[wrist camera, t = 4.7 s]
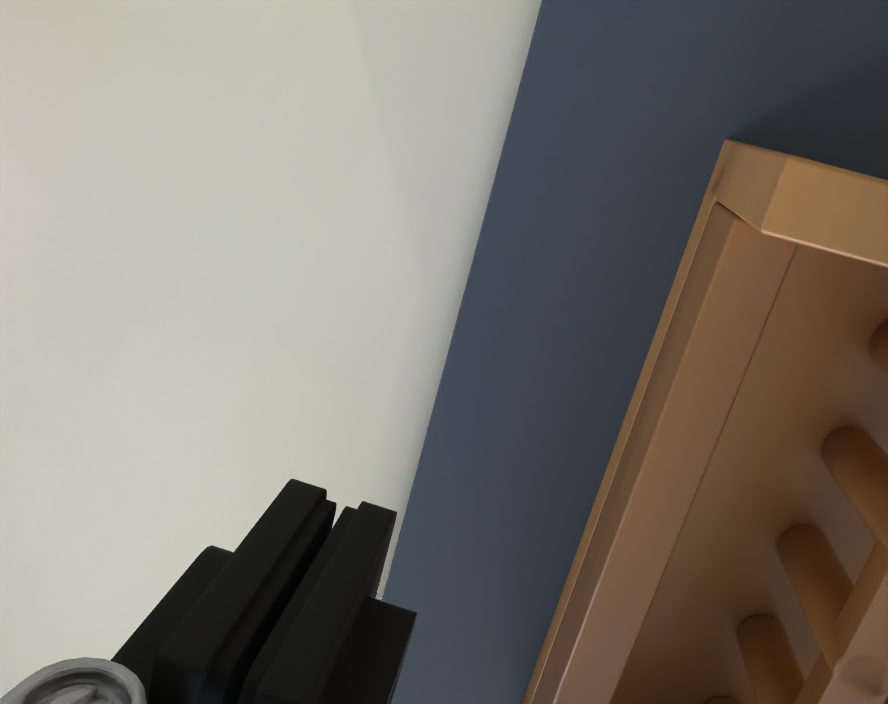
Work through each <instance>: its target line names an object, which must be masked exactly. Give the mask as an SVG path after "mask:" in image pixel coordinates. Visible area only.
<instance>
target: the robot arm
mask: <svg viewBox="0 0 888 704" xmlns="http://www.w3.org/2000/svg"><path fill="white" fill-rule="evenodd" d="M326 496H327V491H326V489H323V488H320V487H317V486H314V485H311V484H307V483H304V482H301V481H298V480H295V479H291V480H290V481H289V482H288V483H287V484H286V485H285V487H284V488H283V489H282V491H281V492H280V493H279V495H278V496H277V497H276V498H275V500H274V501H273V502H272V504H271V505H270V506H269V507H268V509H267V510H266V511H265V513H264V514H263V515H262V517H261V518H260V519H259V520H258V522H257V523H256V524H255V526H254V527H253V528H252V529H251V531H250V532H249V533H248V535H247V536H246V537H245V539H244V540H243V541H242V542H241V544H240V545H239V546H238V548H237V549H236V550H235V551H234V552H231V551H228V550H224V549H221V548H218V547H215V546H209V547H207V548H206V549H205V550H204V551H203V552H201V554H200V555H199V556H198V557H197V558H196V560H195V561H194V562H193V563H192V564H191V565H190V567H189V568H188V569H187V570H186V571H185V573H184V574H183V575H182V576H181V577H180V579H179V580H178V581H177V582H176V583H175V585H174V586H173V587H172V588H171V589H170V590H169V592H168V593H167V594H166V595H165V596H164V598H163V599H162V600H161V601H160V602H159V604H158V605H157V606H156V607H155V608H154V609H153V611H152V612H151V613H150V614H149V615H148V617H147V618H146V619H145V620H144V621H143V623H142V624H141V625H140V626H139V627H138V628H137V630H136V631H135V632H134V633H133V634H132V636H131V637H130V638H129V639H128V640H127V642H126V643H125V644H124V645H123V646H122V647H121V649H120V650H119V651H118V652H117V653H116V655H115V656H114V657H113V658H112V659H111V661H109V660H106V659H98V658H86V657H84V658H77V659H69V660H63V661H60V662H57V663H55V664H52V665H49V666H46V667H43V668H42V669H40V670H39V671H37V672H35V673H34V674H32V675H31V676H29V677H27V678H26V679H24V680H23V681H22V682H21V683H19V684H18V685H17V686H16V687H14V688H13V689H12V690H11V691H10V692H8V693H7V694H6V695H5V696H3V697H2V698H1V699H0V704H391V702H392V699H393V695H394V692H395V689H396V686H397V682H398V679H399V676H400V673H401V669H402V666H403V663H404V659H405V656H406V652H407V649H408V645H409V642H410V638H411V635H412V631H413V628H414V624H415V621H416V617H417V612H413V611H410V610H407V609H404V608H401V607H398V606H395V605H392V604H389V603H386V602H383V601H380V600H377V599H375V597H376V594H377V590H378V586H379V582H380V578H381V574H382V571H383V567H384V563H385V559H386V555H387V551H388V548H389V544H390V540H391V536H392V532H393V528H394V525H395V520H396V515H397V512H396V511H392V510H389V509H386V508H383V507H380V506H377V505H374V504H370V503H367V502H364V501H363V502H361V504H360V505H359V507H358V509H354V508H351V507H348V506H346V507H345V508H344V510H343V511H342V513H341V515H340V517H339V518H338V520H337V522H336V523H335V525H334V527H333V528H332V525H333V521H334V516H335V512H336V503H335V502H332V501H329V500H326ZM331 529H332V530H331Z"/></svg>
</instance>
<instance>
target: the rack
mask: <svg viewBox="0 0 888 704" xmlns="http://www.w3.org/2000/svg"><path fill="white" fill-rule="evenodd" d="M522 704H888V180H885V179H881V178H877V177H873V176H870V175H866V174H862V173H858V172H855V171H851V170H847V169H843V168H839V167H836V166H832V165H828V164H824V163H821V162H817V161H813V160H809V159H805V158H802V157H798V156H794V155H790V154H786V153H782V152H778V151H774V150H770V149H766V148H762V147H758V146H754V145H750V144H746V143H742V142H738V141H734V140H730V139H725V140H724V143H723V146H722V148H721V151H720V154H719V157H718V159H717V162H716V165H715V168H714V171H713V173H712V176H711V179H710V182H709V184H708V187H707V190H706V193H705V196H704V198H703V201H702V204H701V207H700V210H699V212H698V215H697V218H696V221H695V223H694V226H693V229H692V232H691V235H690V237H689V240H688V243H687V246H686V248H685V251H684V254H683V257H682V260H681V262H680V265H679V268H678V271H677V274H676V276H675V279H674V282H673V285H672V287H671V290H670V293H669V296H668V299H667V301H666V304H665V307H664V310H663V313H662V315H661V318H660V321H659V324H658V326H657V329H656V332H655V335H654V338H653V340H652V343H651V346H650V349H649V351H648V354H647V357H646V360H645V363H644V365H643V368H642V371H641V374H640V377H639V379H638V382H637V385H636V388H635V390H634V393H633V396H632V399H631V402H630V404H629V407H628V410H627V413H626V415H625V418H624V421H623V424H622V427H621V429H620V432H619V435H618V438H617V441H616V443H615V446H614V449H613V452H612V454H611V457H610V460H609V463H608V466H607V468H606V471H605V474H604V477H603V480H602V482H601V485H600V488H599V491H598V493H597V496H596V499H595V502H594V505H593V507H592V510H591V513H590V516H589V518H588V521H587V524H586V527H585V530H584V532H583V535H582V538H581V541H580V544H579V546H578V549H577V552H576V555H575V557H574V560H573V563H572V566H571V569H570V571H569V574H568V577H567V580H566V582H565V585H564V588H563V591H562V594H561V596H560V599H559V602H558V605H557V608H556V610H555V613H554V616H553V619H552V621H551V624H550V627H549V630H548V633H547V635H546V638H545V641H544V644H543V647H542V649H541V652H540V655H539V658H538V660H537V663H536V666H535V669H534V672H533V674H532V677H531V680H530V683H529V685H528V688H527V691H526V694H525V697H524V699H523V702H522Z"/></svg>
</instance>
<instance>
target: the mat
mask: <svg viewBox="0 0 888 704" xmlns="http://www.w3.org/2000/svg"><path fill="white" fill-rule="evenodd" d="M725 139H730V140H734V141H738V142H742V143H746V144H750V145H754V146H758V147H762V148H766V149H770V150H774V151H778V152H782V153H786V154H790V155H794V156H798V157H802V158H805V159H809V160H813V161H817V162H821V163H824V164H828V165H832V166H836V167H839V168H843V169H847V170H851V171H855V172H858V173H862V174H866V175H870V176H873V177H877V178H881V179H885V180H888V0H542V3H541V7H540V11H539V14H538V18H537V22H536V26H535V29H534V33H533V37H532V41H531V44H530V48H529V52H528V56H527V59H526V63H525V67H524V71H523V74H522V78H521V82H520V86H519V89H518V93H517V97H516V101H515V104H514V108H513V112H512V115H511V119H510V123H509V127H508V130H507V134H506V138H505V142H504V145H503V149H502V153H501V157H500V160H499V164H498V168H497V172H496V175H495V179H494V183H493V187H492V190H491V194H490V198H489V202H488V205H487V209H486V213H485V217H484V220H483V224H482V228H481V232H480V235H479V239H478V243H477V247H476V250H475V254H474V258H473V262H472V265H471V269H470V273H469V277H468V280H467V284H466V288H465V292H464V295H463V299H462V303H461V307H460V310H459V314H458V318H457V322H456V325H455V329H454V333H453V337H452V340H451V344H450V348H449V352H448V355H447V359H446V363H445V367H444V370H443V374H442V378H441V381H440V385H439V389H438V393H437V396H436V400H435V404H434V408H433V411H432V415H431V419H430V423H429V426H428V430H427V434H426V438H425V441H424V445H423V449H422V453H421V456H420V460H419V464H418V468H417V471H416V475H415V479H414V483H413V486H412V490H411V494H410V498H409V501H408V505H407V509H406V513H405V516H404V520H403V524H402V528H401V531H400V535H399V539H398V543H397V546H396V550H395V554H394V558H393V561H392V565H391V569H390V573H389V576H388V580H387V584H386V588H385V591H384V595H383V599H382V601H383V602H386V603H389V604H392V605H395V606H398V607H401V608H404V609H407V610H410V611H413V612H417V617H416V621H415V624H414V628H413V631H412V635H411V638H410V642H409V645H408V649H407V652H406V656H405V659H404V663H403V666H402V669H401V673H400V676H399V679H398V682H397V686H396V689H395V692H394V695H393V699H392V702H391V704H522V702H523V699H524V697H525V694H526V691H527V688H528V685H529V683H530V680H531V677H532V674H533V672H534V669H535V666H536V663H537V660H538V658H539V655H540V652H541V649H542V647H543V644H544V641H545V638H546V635H547V633H548V630H549V627H550V624H551V621H552V619H553V616H554V613H555V610H556V608H557V605H558V602H559V599H560V596H561V594H562V591H563V588H564V585H565V582H566V580H567V577H568V574H569V571H570V569H571V566H572V563H573V560H574V557H575V555H576V552H577V549H578V546H579V544H580V541H581V538H582V535H583V532H584V530H585V527H586V524H587V521H588V518H589V516H590V513H591V510H592V507H593V505H594V502H595V499H596V496H597V493H598V491H599V488H600V485H601V482H602V480H603V477H604V474H605V471H606V468H607V466H608V463H609V460H610V457H611V454H612V452H613V449H614V446H615V443H616V441H617V438H618V435H619V432H620V429H621V427H622V424H623V421H624V418H625V415H626V413H627V410H628V407H629V404H630V402H631V399H632V396H633V393H634V390H635V388H636V385H637V382H638V379H639V377H640V374H641V371H642V368H643V365H644V363H645V360H646V357H647V354H648V351H649V349H650V346H651V343H652V340H653V338H654V335H655V332H656V329H657V326H658V324H659V321H660V318H661V315H662V313H663V310H664V307H665V304H666V301H667V299H668V296H669V293H670V290H671V287H672V285H673V282H674V279H675V276H676V274H677V271H678V268H679V265H680V262H681V260H682V257H683V254H684V251H685V248H686V246H687V243H688V240H689V237H690V235H691V232H692V229H693V226H694V223H695V221H696V218H697V215H698V212H699V210H700V207H701V204H702V201H703V198H704V196H705V193H706V190H707V187H708V184H709V182H710V179H711V176H712V173H713V171H714V168H715V165H716V162H717V159H718V157H719V154H720V151H721V148H722V146H723V143H724V140H725Z"/></svg>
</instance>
